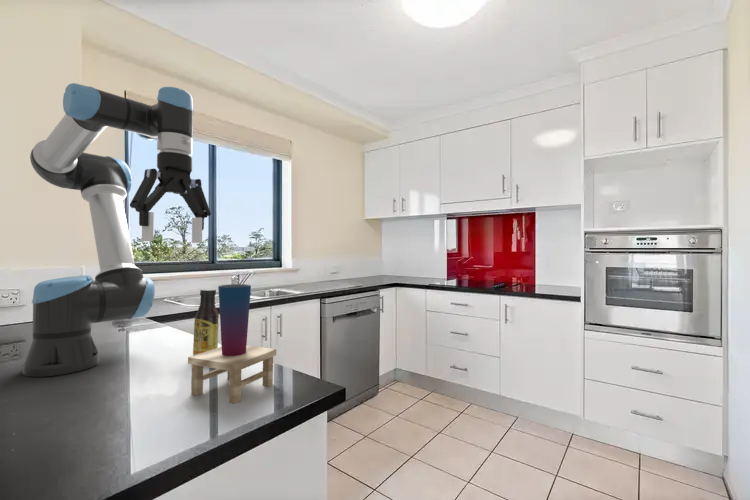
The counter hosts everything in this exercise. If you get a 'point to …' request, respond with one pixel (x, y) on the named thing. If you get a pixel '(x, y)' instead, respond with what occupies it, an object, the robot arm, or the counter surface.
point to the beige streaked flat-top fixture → (231, 368)
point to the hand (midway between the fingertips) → (173, 242)
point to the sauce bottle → (206, 323)
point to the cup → (234, 317)
